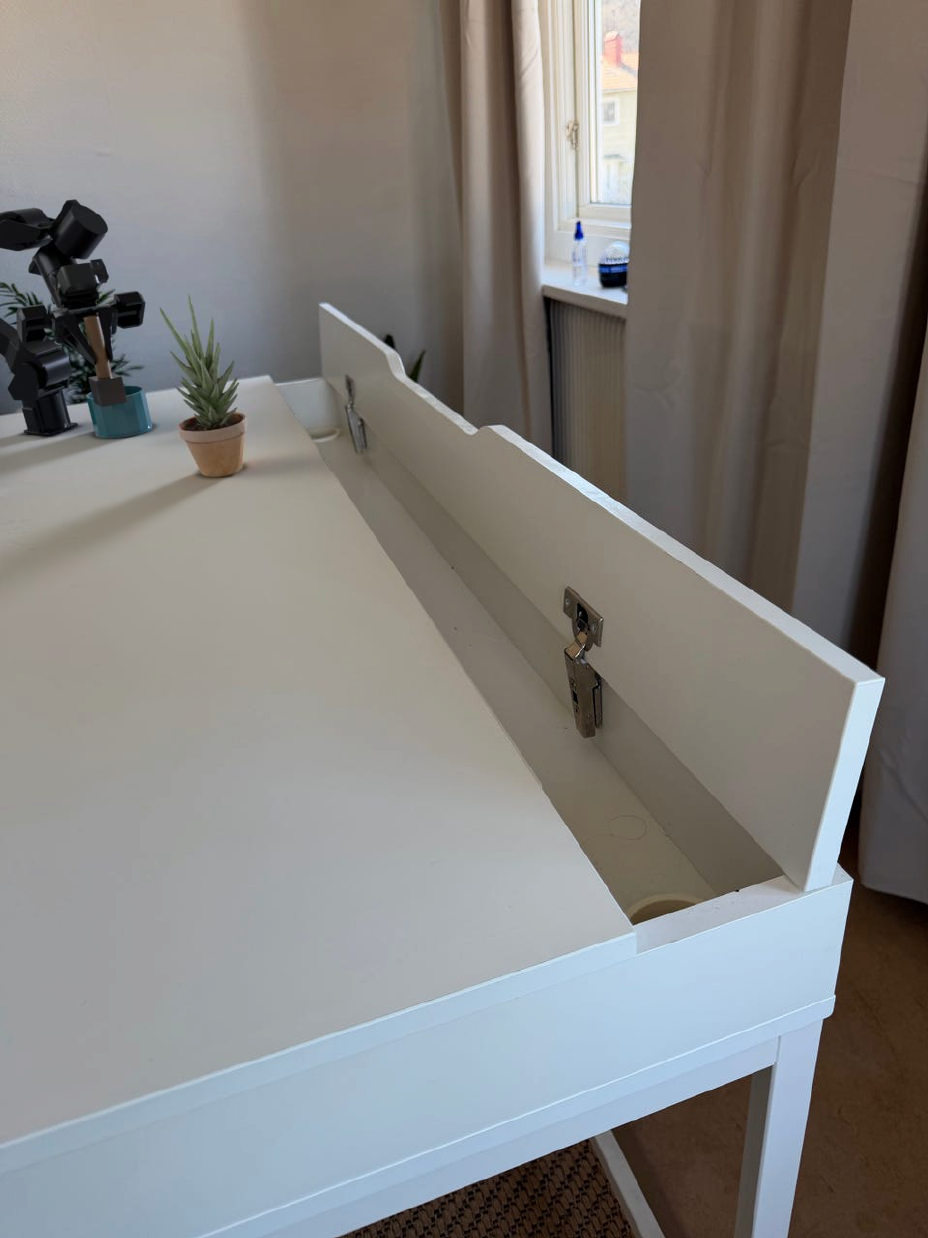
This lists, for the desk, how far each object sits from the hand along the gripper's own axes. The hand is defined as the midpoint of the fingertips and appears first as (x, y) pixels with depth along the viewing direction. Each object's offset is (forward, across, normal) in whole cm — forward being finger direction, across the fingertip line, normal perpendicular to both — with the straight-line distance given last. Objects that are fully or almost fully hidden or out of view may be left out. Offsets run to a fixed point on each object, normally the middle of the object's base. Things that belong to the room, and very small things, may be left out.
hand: (103, 361), depth 144 cm
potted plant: (+26, +6, -7) cm, 28 cm away
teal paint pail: (+2, +4, +17) cm, 17 cm away
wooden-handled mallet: (+4, 0, +6) cm, 7 cm away
